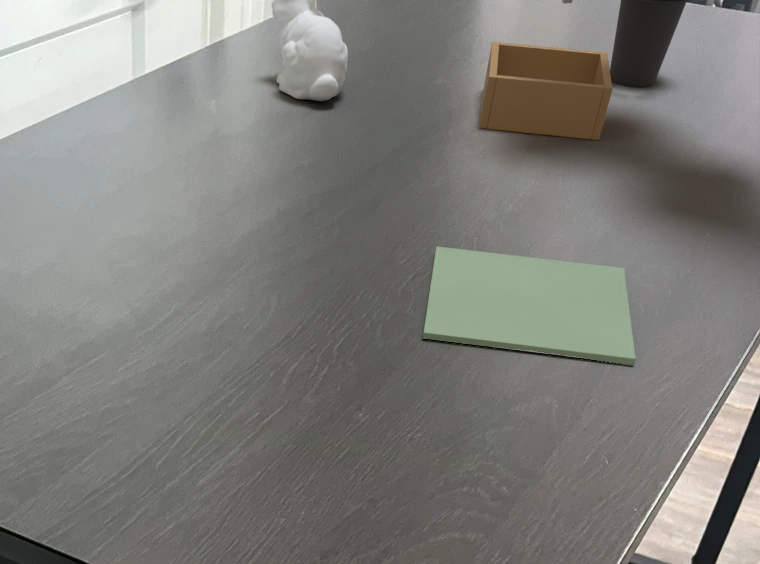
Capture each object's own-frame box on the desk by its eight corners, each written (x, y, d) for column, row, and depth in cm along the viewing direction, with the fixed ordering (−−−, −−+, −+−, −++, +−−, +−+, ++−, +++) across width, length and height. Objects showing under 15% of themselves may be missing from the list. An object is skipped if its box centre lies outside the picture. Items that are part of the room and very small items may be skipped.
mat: (622, 274, 94) (624, 267, 94) (633, 366, 83) (635, 358, 83) (435, 253, 96) (436, 246, 95) (422, 339, 85) (423, 332, 84)
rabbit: (260, 76, 127) (267, -48, 118) (335, 71, 129) (347, -51, 121) (296, 112, 119) (306, -18, 111) (376, 106, 121) (392, -22, 113)
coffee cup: (676, 78, 132) (706, -20, 124) (652, 95, 127) (681, -6, 120) (612, 64, 135) (637, -33, 128) (586, 80, 130) (610, -20, 123)
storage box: (594, 101, 125) (607, 52, 121) (598, 140, 116) (612, 88, 113) (483, 90, 126) (492, 41, 123) (479, 128, 118) (489, 76, 114)
